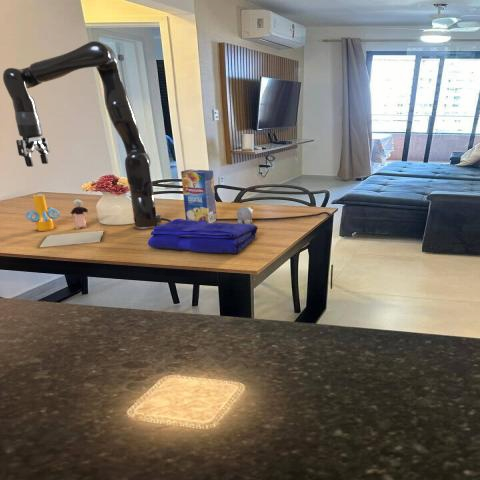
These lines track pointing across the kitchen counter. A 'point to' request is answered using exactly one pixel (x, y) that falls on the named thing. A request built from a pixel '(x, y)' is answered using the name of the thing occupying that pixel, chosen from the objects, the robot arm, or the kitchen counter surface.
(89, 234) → the cloth
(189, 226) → the towel
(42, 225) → the yellow cone toy
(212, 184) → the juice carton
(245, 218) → the round bodied animal figurine
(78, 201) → the grandmother figurine
